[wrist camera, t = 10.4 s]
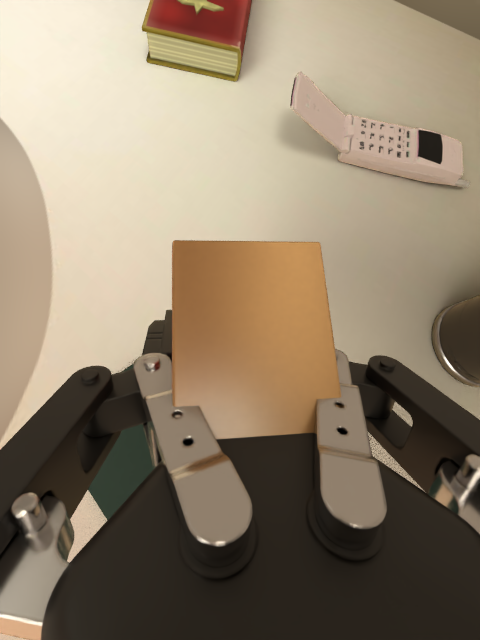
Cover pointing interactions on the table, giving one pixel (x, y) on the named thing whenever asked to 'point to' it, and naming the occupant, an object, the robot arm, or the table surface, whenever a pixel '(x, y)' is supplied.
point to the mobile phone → (380, 140)
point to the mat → (122, 470)
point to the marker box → (251, 335)
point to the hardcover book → (198, 35)
